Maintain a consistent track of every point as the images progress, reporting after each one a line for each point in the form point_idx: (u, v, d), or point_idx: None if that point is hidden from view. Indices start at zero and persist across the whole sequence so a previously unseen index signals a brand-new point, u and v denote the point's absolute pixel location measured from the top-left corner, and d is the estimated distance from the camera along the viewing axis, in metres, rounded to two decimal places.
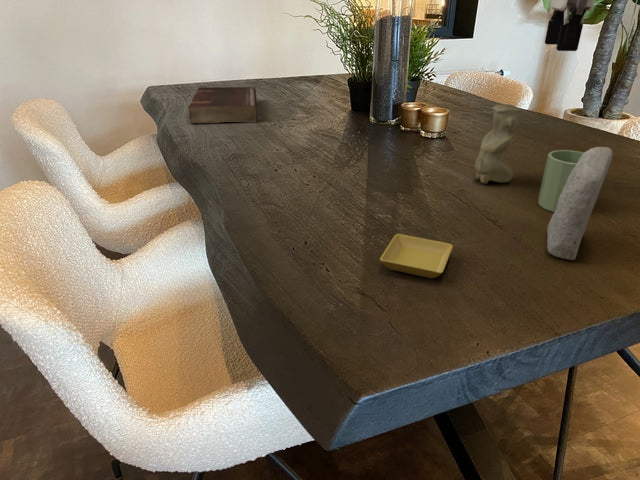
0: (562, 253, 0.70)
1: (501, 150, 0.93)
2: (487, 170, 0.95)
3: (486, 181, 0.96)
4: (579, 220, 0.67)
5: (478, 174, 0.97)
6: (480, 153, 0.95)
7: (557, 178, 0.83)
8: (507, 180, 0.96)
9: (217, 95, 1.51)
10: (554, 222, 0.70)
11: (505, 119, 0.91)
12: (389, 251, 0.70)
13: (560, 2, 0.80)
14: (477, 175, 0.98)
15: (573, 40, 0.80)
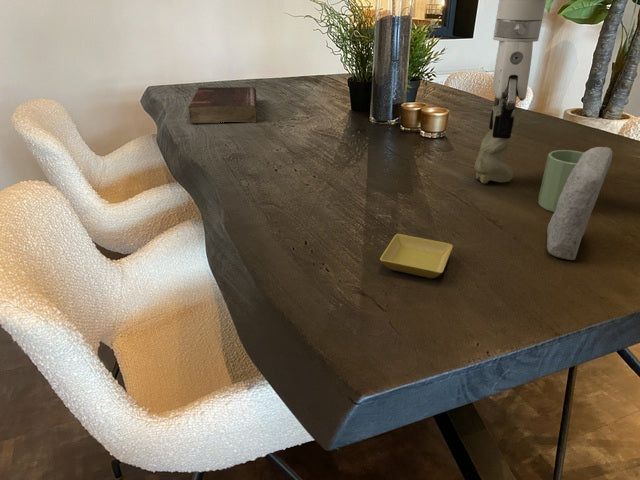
0: (562, 253, 0.70)
1: (501, 150, 0.93)
2: (487, 170, 0.95)
3: (486, 181, 0.96)
4: (579, 220, 0.67)
5: (478, 174, 0.97)
6: (480, 153, 0.95)
7: (557, 178, 0.83)
8: (507, 180, 0.96)
9: (217, 95, 1.51)
10: (554, 222, 0.70)
11: None
12: (389, 251, 0.70)
13: (496, 92, 0.88)
14: (477, 175, 0.98)
15: (506, 130, 0.90)
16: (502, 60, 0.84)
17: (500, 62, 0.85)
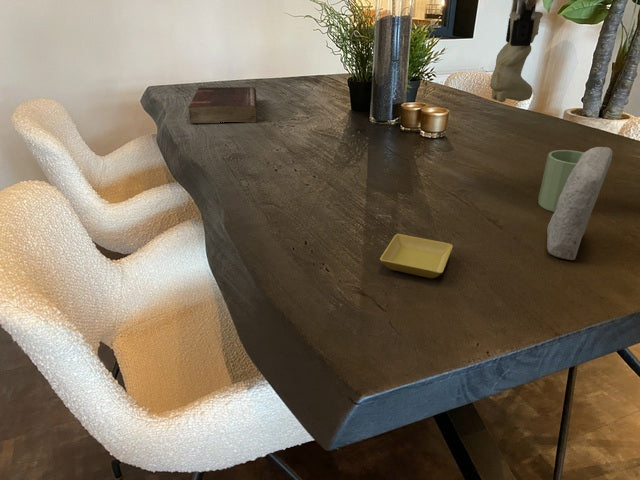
0: (562, 253, 0.70)
1: (520, 61, 0.84)
2: (504, 86, 0.86)
3: (503, 99, 0.87)
4: (579, 220, 0.67)
5: (494, 92, 0.89)
6: (496, 67, 0.87)
7: (557, 178, 0.83)
8: (526, 97, 0.88)
9: (217, 95, 1.51)
10: (554, 222, 0.70)
11: None
12: (389, 251, 0.70)
13: None
14: (493, 94, 0.89)
15: (525, 35, 0.81)
16: None
17: None
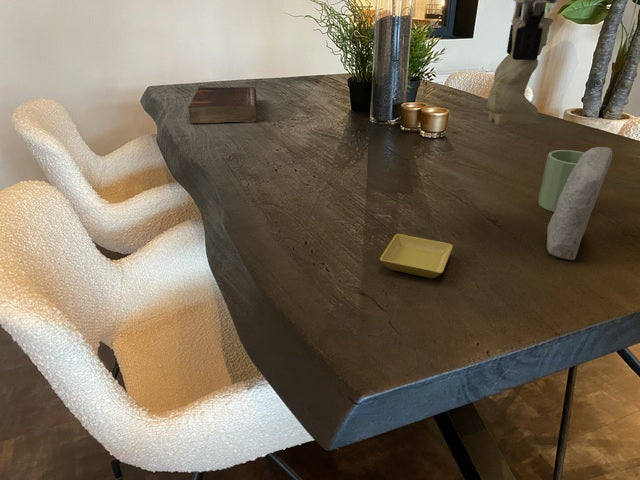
0: (562, 253, 0.70)
1: (524, 78, 0.69)
2: (504, 107, 0.71)
3: (503, 123, 0.72)
4: (579, 220, 0.67)
5: (492, 114, 0.73)
6: (494, 85, 0.71)
7: (557, 178, 0.83)
8: (531, 121, 0.72)
9: (217, 95, 1.51)
10: (554, 222, 0.70)
11: None
12: (389, 251, 0.70)
13: None
14: (490, 116, 0.74)
15: (531, 47, 0.65)
16: None
17: None
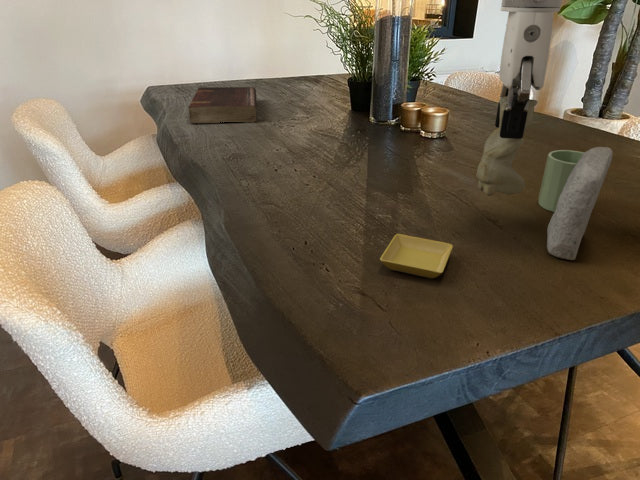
0: (562, 253, 0.70)
1: (511, 153, 0.73)
2: (493, 179, 0.75)
3: (491, 192, 0.76)
4: (579, 220, 0.67)
5: (481, 183, 0.78)
6: (483, 157, 0.76)
7: (557, 178, 0.83)
8: (517, 191, 0.77)
9: (217, 95, 1.51)
10: (554, 222, 0.70)
11: None
12: (389, 251, 0.70)
13: (505, 79, 0.68)
14: (479, 185, 0.78)
15: (517, 128, 0.70)
16: (513, 36, 0.65)
17: (510, 40, 0.66)
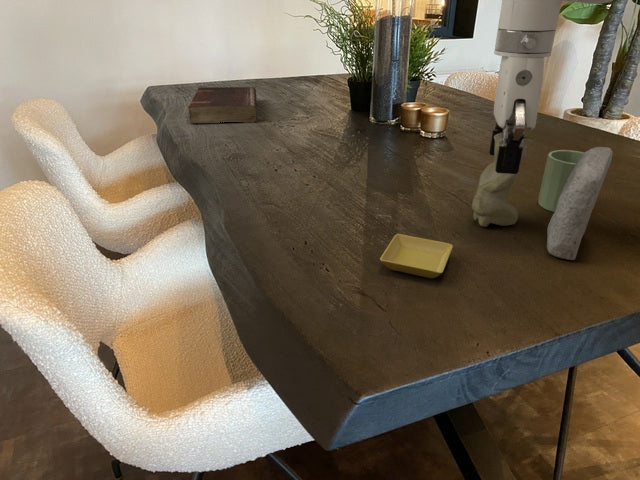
0: (562, 253, 0.70)
1: (505, 188, 0.76)
2: (487, 212, 0.78)
3: (486, 224, 0.79)
4: (579, 220, 0.67)
5: (476, 215, 0.80)
6: (478, 190, 0.78)
7: (557, 178, 0.83)
8: (511, 223, 0.79)
9: (217, 95, 1.51)
10: (554, 222, 0.70)
11: None
12: (389, 251, 0.70)
13: (499, 119, 0.70)
14: (475, 216, 0.81)
15: (512, 164, 0.71)
16: (506, 80, 0.67)
17: (503, 82, 0.68)
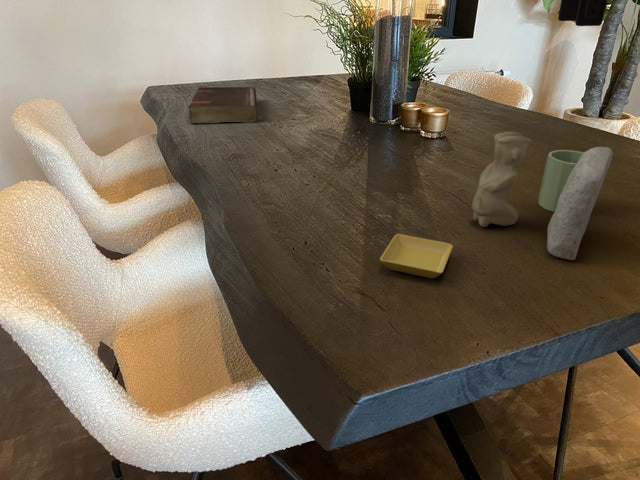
0: (562, 253, 0.70)
1: (505, 188, 0.76)
2: (487, 212, 0.78)
3: (486, 224, 0.79)
4: (579, 220, 0.67)
5: (476, 215, 0.80)
6: (478, 190, 0.78)
7: (557, 178, 0.83)
8: (511, 223, 0.79)
9: (217, 95, 1.51)
10: (554, 222, 0.70)
11: (509, 151, 0.74)
12: (389, 251, 0.70)
13: None
14: (475, 216, 0.81)
15: (597, 12, 0.64)
16: None
17: None
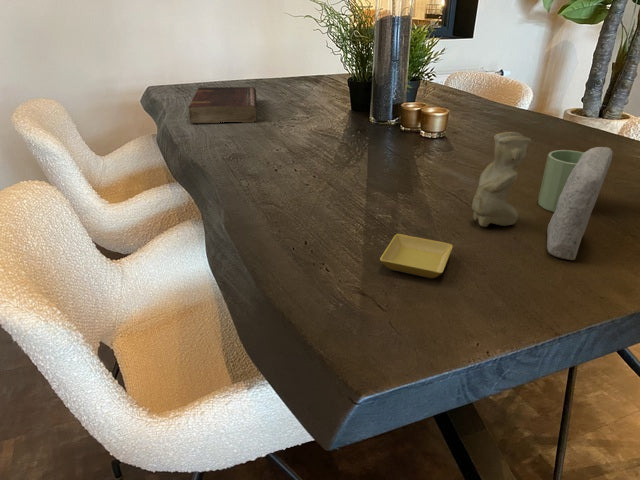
0: (562, 253, 0.70)
1: (505, 188, 0.76)
2: (487, 212, 0.78)
3: (486, 224, 0.79)
4: (579, 220, 0.67)
5: (476, 215, 0.80)
6: (478, 190, 0.78)
7: (557, 178, 0.83)
8: (511, 223, 0.79)
9: (217, 95, 1.51)
10: (554, 222, 0.70)
11: (509, 151, 0.74)
12: (389, 251, 0.70)
13: None
14: (475, 216, 0.81)
15: None
16: None
17: None
